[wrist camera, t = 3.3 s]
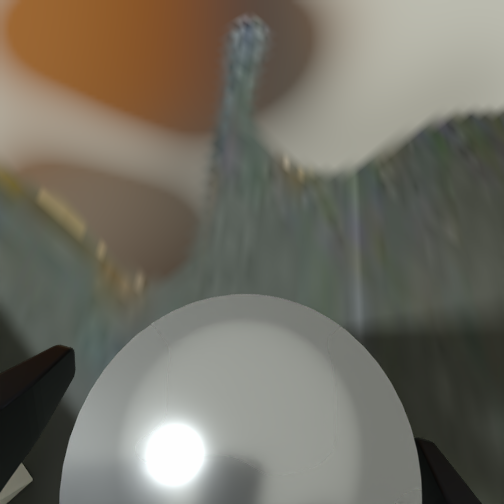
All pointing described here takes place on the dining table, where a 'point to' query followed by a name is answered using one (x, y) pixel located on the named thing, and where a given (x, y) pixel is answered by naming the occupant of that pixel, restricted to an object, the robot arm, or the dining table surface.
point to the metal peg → (242, 414)
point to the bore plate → (15, 484)
